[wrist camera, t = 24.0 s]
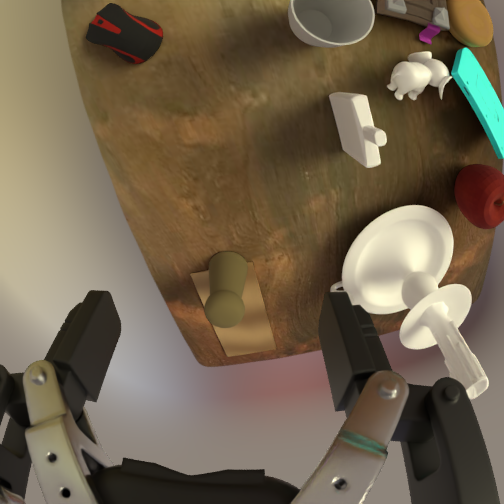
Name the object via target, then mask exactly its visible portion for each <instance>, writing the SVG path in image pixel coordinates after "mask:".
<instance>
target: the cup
mask: <svg viewBox="0 0 504 504" xmlns="http://www.w3.org/2000/svg"><path fill="white" fill-rule="evenodd" d="M288 18H289V24H290V27H291V29H292V31H293V33H294V34H295V35H296V36H297V37H298V38H299V39H300V40H301V41H303V42H305V43H307V44H309V45H312V46H318V47H328V48H330V47H338V46H343V45H348V44H353V43H356V42H358V41H360V40H362V39H363V38H365V37H366V36H367V35H368V34H369V32H370V31H371V29H372V27H373V24H374V18H375V15H374V8H373V5H372V3H371V1H370V0H290V3H289V7H288Z"/></svg>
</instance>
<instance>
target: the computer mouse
mask: <svg viewBox="0 0 504 504" xmlns="http://www.w3.org/2000/svg"><path fill="white" fill-rule="evenodd" d="M86 39H87V40H88V41H90V42H92V43H94V44H100V45H103V46H106V47H109V48H110V49H112V50H113V51H114V52H115V53H116V54H117V55H118V56H119V57H120V58H122V59H123V60H125V61H127V62H129V63H133V64H138V63H142V62H144V61H146V60H148V59H149V58H150V57H152V56H153V55H154V54H155V52H156V51H157V50H158V48H159V47H160V45H161V42H162V39H163V31H162V28H161V27H160V26H159V25H158V24H157V23H156V22H154V21H152V20H149V19H146V18H142V17H137V16H133V15H131V14H129V13H128V12H126V11H125V10H124V9H122V8H121V7H120V6H118V5H116V4H113V3H109V4H108V5H107V6H106V7H104V8H103V9H102V10H101V11H99V12H98V13H97V15H96V17H95V19H94V20H93V21H92V22H91V23H90V24H89V29H88V32H87V34H86Z"/></svg>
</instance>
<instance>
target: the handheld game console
mask: <svg viewBox="0 0 504 504" xmlns="http://www.w3.org/2000/svg"><path fill="white" fill-rule="evenodd" d="M451 74H452V76H453V78H454V79H455V81H456V82H457V84H458V85H459V87H460V88H461V90H462V92H463V93H464V95H465V96H466V98H467V100H468V101H469V103H470V105H471V106H472V108H473V110H474V112H475V113H476V115H477V117H478V119H479V121H480V123H481V124H482V126H483V128H484V130H485V132H486V134H487V136H488V138H489V140H490V142H491V144H492V146H493V148H494V151H495V153H496V155H497V157H498V159H503V158H504V109H503V107H502V105H501V103H500V101H499V99H498V97H497V95H496V93H495V91H494V89H493V87H492V85H491V84H490V82H489V80H488V78H487V77H486V75H485V73H484V71H483V70H482V68H481V66H480V65H479V63H478V61H477V60H476V58H475V57H474V55H473V54H472V52H471V51H470V50H469V49H468V48H462V49H459V50H458V51H457V53H456V57H455V61H454V65H453V69H452V72H451Z"/></svg>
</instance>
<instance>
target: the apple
mask: <svg viewBox="0 0 504 504" xmlns="http://www.w3.org/2000/svg"><path fill="white" fill-rule="evenodd" d="M454 193H455V199H456V202H457V205H458V207H459V209H460V211H461V212H462V214H463V215H464V216H465V217H466V218H467V219H468V220H469V221H470V222H471V223H472V224H474V225H475V226H477V227H479V228H482V229H491V228H494V227H496V226H498V225H499V224H500V223H501V222H502V221H503V220H504V175H503V174H502V173H501V172H500V171H499V170H497V169H495V168H493V167H491V166H487V165H482V164H473V165H468V166H466V167H464V168H463V169H462V170H461V171H460V172H459V174H458V176H457V178H456V181H455V187H454Z"/></svg>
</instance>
